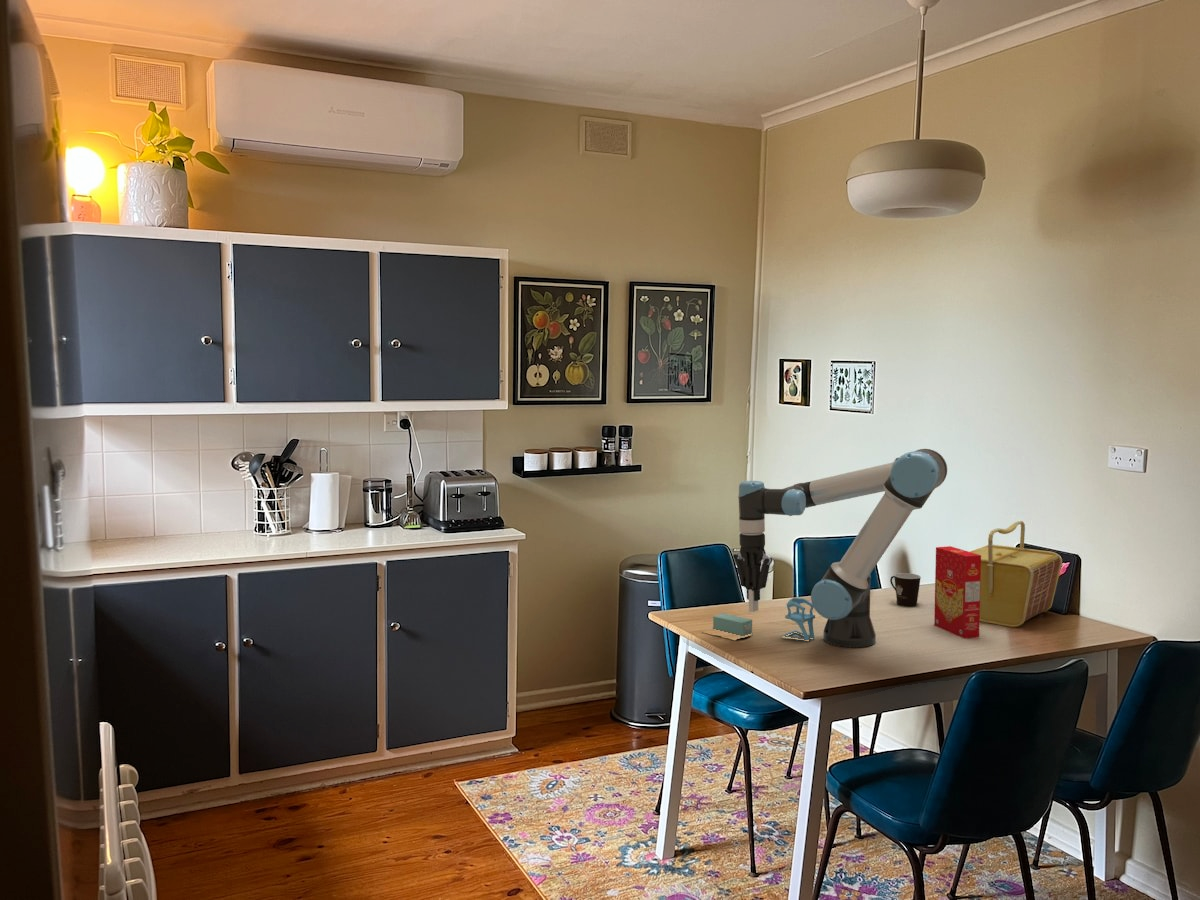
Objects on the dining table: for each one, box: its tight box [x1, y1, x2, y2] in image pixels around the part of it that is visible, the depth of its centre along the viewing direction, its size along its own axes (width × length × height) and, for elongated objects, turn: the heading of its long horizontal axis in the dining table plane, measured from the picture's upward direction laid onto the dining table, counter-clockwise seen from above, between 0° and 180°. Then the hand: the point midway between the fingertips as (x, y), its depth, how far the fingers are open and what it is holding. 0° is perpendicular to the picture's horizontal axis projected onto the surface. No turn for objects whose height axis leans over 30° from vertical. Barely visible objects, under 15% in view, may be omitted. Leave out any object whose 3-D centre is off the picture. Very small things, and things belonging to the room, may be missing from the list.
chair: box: [781, 597, 816, 641], centre depth 276 cm, size 8×8×12 cm
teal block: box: [712, 612, 753, 636], centre depth 280 cm, size 5×5×11 cm
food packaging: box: [933, 545, 981, 639], centre depth 281 cm, size 15×5×25 cm, turn 14°
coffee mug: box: [889, 572, 922, 608], centre depth 315 cm, size 12×9×10 cm
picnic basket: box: [969, 520, 1063, 628], centre depth 298 cm, size 29×26×30 cm
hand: (753, 610), depth 274 cm, fingers closed
